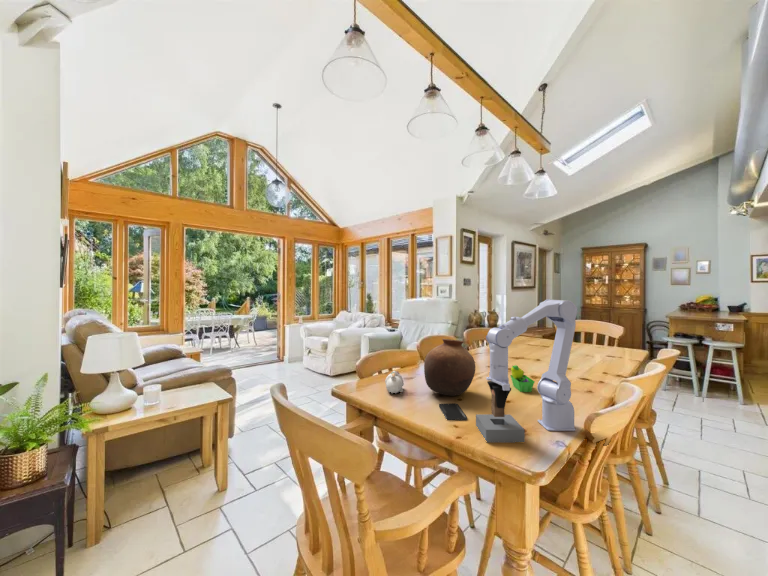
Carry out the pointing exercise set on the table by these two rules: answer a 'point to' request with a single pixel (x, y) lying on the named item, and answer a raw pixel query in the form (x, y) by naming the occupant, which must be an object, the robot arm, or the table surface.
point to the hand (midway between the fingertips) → (498, 405)
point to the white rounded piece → (394, 382)
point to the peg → (495, 410)
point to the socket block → (500, 428)
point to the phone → (452, 411)
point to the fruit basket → (521, 380)
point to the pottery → (449, 368)
